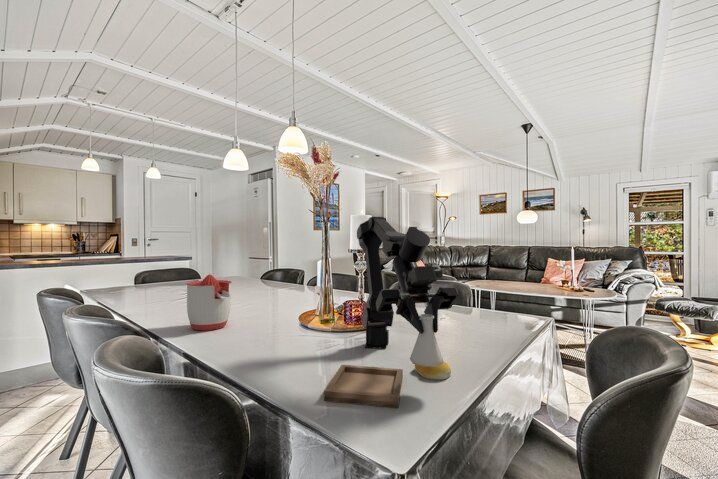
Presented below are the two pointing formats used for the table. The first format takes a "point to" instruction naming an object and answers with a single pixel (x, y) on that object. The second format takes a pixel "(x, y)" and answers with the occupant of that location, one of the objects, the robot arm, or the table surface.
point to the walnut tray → (365, 386)
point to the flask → (426, 345)
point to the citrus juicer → (208, 303)
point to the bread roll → (434, 371)
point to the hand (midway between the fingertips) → (429, 332)
